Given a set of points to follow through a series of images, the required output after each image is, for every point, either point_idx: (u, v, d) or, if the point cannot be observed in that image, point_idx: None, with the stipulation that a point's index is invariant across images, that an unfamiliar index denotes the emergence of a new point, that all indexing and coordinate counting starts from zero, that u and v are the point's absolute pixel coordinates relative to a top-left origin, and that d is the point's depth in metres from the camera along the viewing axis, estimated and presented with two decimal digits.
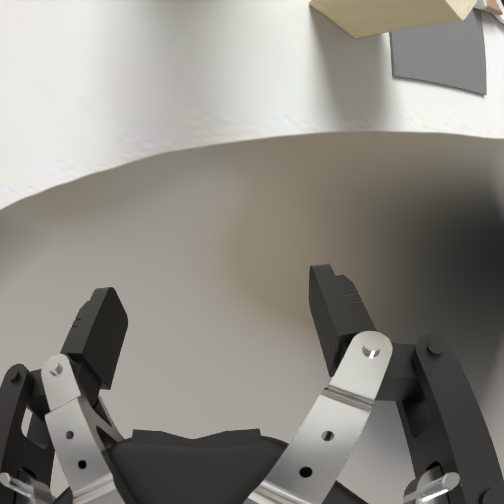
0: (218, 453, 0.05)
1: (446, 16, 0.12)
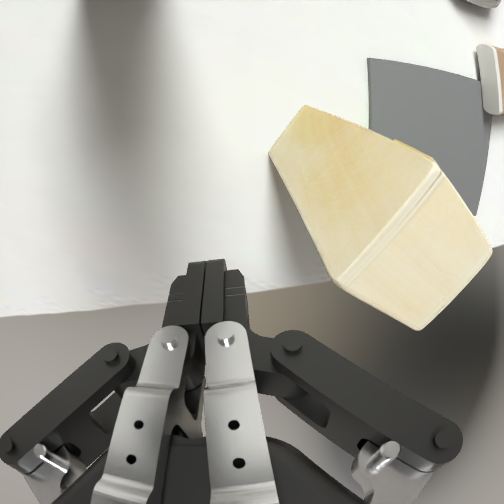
0: None
1: None
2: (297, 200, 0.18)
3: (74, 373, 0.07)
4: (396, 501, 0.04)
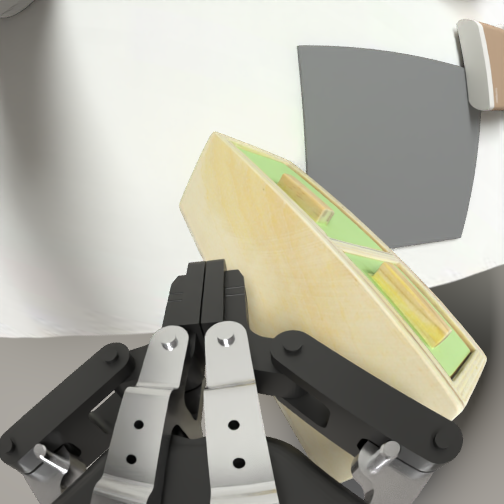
0: None
1: None
2: None
3: (74, 373, 0.07)
4: (396, 501, 0.04)
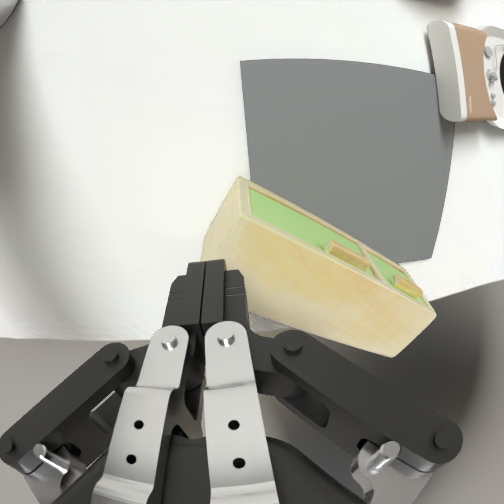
0: None
1: None
2: (342, 340, 0.23)
3: (74, 373, 0.07)
4: (396, 501, 0.04)
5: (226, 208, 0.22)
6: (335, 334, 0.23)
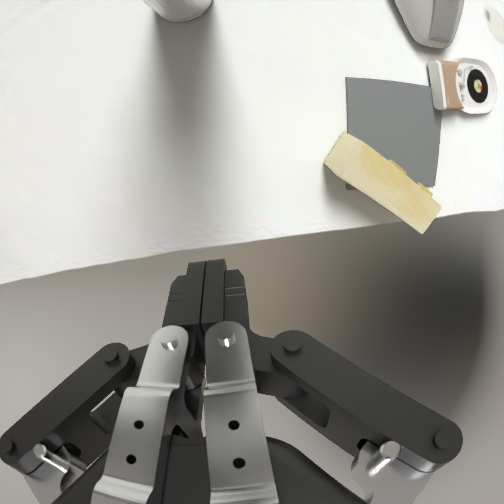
0: None
1: None
2: (397, 214, 0.44)
3: (74, 373, 0.07)
4: (396, 501, 0.04)
5: (342, 144, 0.42)
6: (394, 209, 0.43)
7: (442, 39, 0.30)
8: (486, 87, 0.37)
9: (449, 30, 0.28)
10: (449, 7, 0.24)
